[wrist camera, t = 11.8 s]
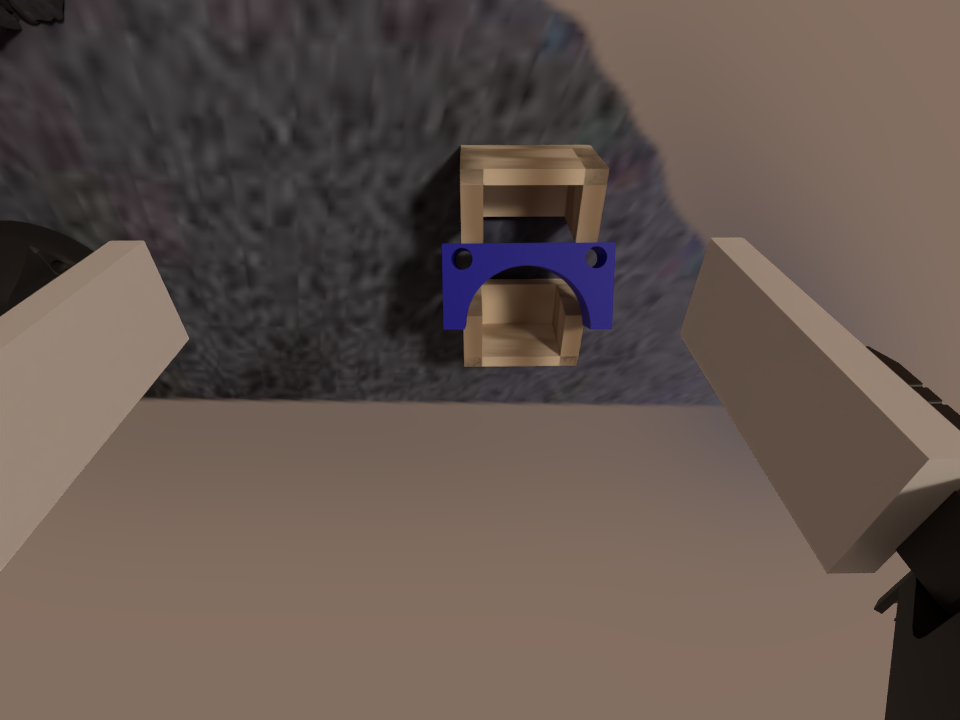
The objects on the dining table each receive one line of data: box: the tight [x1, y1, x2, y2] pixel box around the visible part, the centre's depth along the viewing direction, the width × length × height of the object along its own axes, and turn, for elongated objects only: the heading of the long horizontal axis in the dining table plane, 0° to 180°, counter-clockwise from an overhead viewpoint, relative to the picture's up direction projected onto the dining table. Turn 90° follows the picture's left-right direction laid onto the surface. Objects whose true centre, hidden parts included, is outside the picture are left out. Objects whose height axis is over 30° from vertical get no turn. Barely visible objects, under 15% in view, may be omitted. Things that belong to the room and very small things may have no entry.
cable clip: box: [442, 242, 616, 330], centre depth 35 cm, size 12×4×6 cm
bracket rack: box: [460, 145, 609, 367], centre depth 37 cm, size 10×16×6 cm, turn 0°
